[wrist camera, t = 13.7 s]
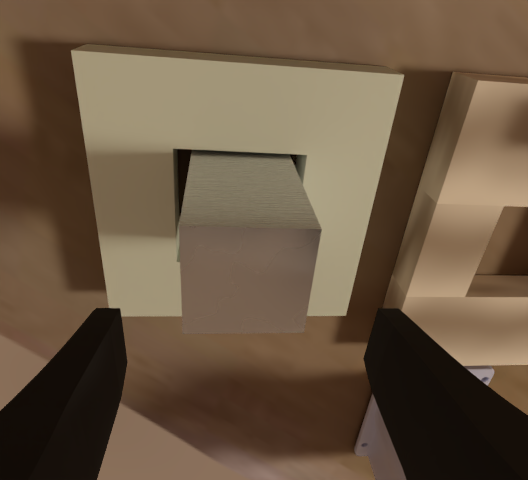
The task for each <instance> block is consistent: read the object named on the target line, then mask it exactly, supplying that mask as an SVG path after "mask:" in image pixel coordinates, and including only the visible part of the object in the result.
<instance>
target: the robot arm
mask: <svg viewBox="0 0 528 480" xmlns="http://www.w3.org/2000/svg"><path fill="white" fill-rule="evenodd" d="M364 362H365V367H366V371H367V375H368V379H369V382H370V386H371V390H372V396H371V399H370V402H369V405H368V408H367V411H366V414H365V417H364V420H363V424H362V427H361V430H360V433H359V436H358V439H357V442H356V445H355V448H354V451H355V454H356V455H357V456H368V457H369V461H370V464H371V467H372V470H373V473H374V476H375V479H376V480H528V415H526V414H525V413H523V412H522V411H521V410H519V409H518V408H516V407H515V406H514V405H512V404H511V403H509V402H508V401H507V400H505V399H504V398H503V397H501V396H500V395H499V394H497V393H496V392H495V391H493V390H492V389H491V388H490V387H488V384H489V382H490V380H491V378H492V376H493V375H494V370H493V368H492V367H491V366H489V365H480V366H463V365H461V364H460V363H459V362H458V361H457V360H456V359H454V358H453V357H452V356H451V355H450V354H449V353H448V352H447V351H445V350H444V349H443V348H442V347H441V346H440V345H439V344H438V343H436V342H435V341H434V340H433V339H432V338H431V337H430V336H429V335H428V334H427V333H425V332H424V331H423V330H422V329H421V328H420V327H419V326H418V325H417V324H416V323H415V322H413V321H412V320H411V319H410V318H409V317H408V316H407V315H406V314H404V313H403V312H402V311H401V310H400V309H399V308H378V311H377V314H376V318H375V321H374V325H373V328H372V332H371V335H370V338H369V342H368V345H367V349H366V352H365V355H364ZM126 367H127V356H126V348H125V341H124V333H123V325H122V318H121V310H120V308H96V309H95V310H94V311H93V312H92V313H91V314H90V315H89V317H88V318H87V319H86V320H85V321H84V323H83V324H82V325H81V326H80V327H79V329H78V330H77V331H76V332H75V333H74V335H73V336H72V337H71V338H70V339H69V340H68V342H67V343H66V344H65V345H64V346H63V347H62V348H61V349H60V351H59V352H58V353H57V354H56V355H55V356H54V357H53V358H52V359H51V360H50V362H49V363H48V364H47V365H46V366H45V367H44V368H43V369H42V370H41V371H40V372H39V373H38V375H37V376H35V377H34V378H33V379H32V380H31V381H30V382H29V383H28V384H27V385H26V386H25V387H24V389H22V390H21V391H20V392H19V393H18V394H17V395H16V396H15V397H14V398H13V399H12V400H11V401H10V402H9V403H8V404H7V405H6V406H5V407H4V408H3V409H2V410H1V411H0V480H97V478H98V474H99V471H100V467H101V464H102V461H103V457H104V454H105V451H106V448H107V444H108V440H109V437H110V434H111V431H112V427H113V424H114V421H115V417H116V414H117V410H118V407H119V403H120V400H121V396H122V390H123V385H124V379H125V373H126Z"/></svg>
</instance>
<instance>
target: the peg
mask: <svg viewBox="0 0 528 480" xmlns="http://www.w3.org/2000/svg"><path fill="white" fill-rule="evenodd" d="M321 231H322V228H321V226H320V224H319V222H318V219H317V217H316V215H315V212H314V210H313V208H312V205H311V203H310V201H309V198H308V196H307V194H306V191H305V189H304V187H303V184H302V182H301V180H300V177H299V175H298V173H297V170H296V168H295V166H294V163H293V161H292V159H291V156H290V154H277V153H256V152H235V151H214V150H193V149H192V153H191V158H190V164H189V170H188V176H187V182H186V187H185V193H184V199H183V205H182V211H181V216H180V222H179V245H180V274H181V303H182V332H183V334H218V333H304V329H305V323H306V317H307V312H308V306H309V300H310V294H311V288H312V283H313V277H314V271H315V265H316V259H317V254H318V248H319V242H320V236H321Z"/></svg>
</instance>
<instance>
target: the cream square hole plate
mask: <svg viewBox="0 0 528 480" xmlns="http://www.w3.org/2000/svg"><path fill="white" fill-rule="evenodd" d="M71 54H72V61H73V68H74V74H75V81H76V88H77V95H78V101H79V108H80V115H81V122H82V128H83V135H84V142H85V149H86V155H87V162H88V169H89V176H90V182H91V189H92V196H93V202H94V209H95V216H96V223H97V229H98V236H99V243H100V250H101V256H102V263H103V270H104V277H105V283H106V290H107V297H108V304H109V308H120V310H121V316H182V303H181V274H180V245H179V222H180V218H179V183H178V149H193V150H214V151H235V152H256V153H277V154H297V159H296V167H295V168H296V170H297V173H298V175H299V177H300V180H301V182H302V184H303V187H304V189H305V191H306V194H307V196H308V198H309V201H310V203H311V205H312V208H313V210H314V212H315V215H316V217H317V219H318V222H319V224H320V226H321V228H322V231H321V236H320V242H319V248H318V254H317V259H316V265H315V271H314V277H313V283H312V288H311V294H310V300H309V306H308V312H307V316H346V313H347V309H348V305H349V301H350V297H351V293H352V288H353V284H354V280H355V276H356V272H357V268H358V264H359V260H360V256H361V251H362V247H363V243H364V239H365V235H366V231H367V227H368V223H369V219H370V214H371V210H372V206H373V202H374V198H375V194H376V190H377V186H378V182H379V177H380V173H381V169H382V165H383V161H384V157H385V153H386V149H387V145H388V140H389V136H390V132H391V128H392V124H393V120H394V116H395V112H396V108H397V103H398V99H399V95H400V91H401V87H402V83H403V79H404V75H403V74H401V73H399V72H397V71H395V70H392V69H390V68H388V67H384V66H371V65H358V64H345V63H332V62H319V61H306V60H293V59H279V58H266V57H253V56H240V55H227V54H214V53H201V52H188V51H175V50H161V49H148V48H135V47H122V46H109V45H96V44H85V45H83V46H80V47H78V48H75V49H73V50H71Z"/></svg>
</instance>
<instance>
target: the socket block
mask: <svg viewBox="0 0 528 480" xmlns="http://www.w3.org/2000/svg"><path fill="white" fill-rule="evenodd" d="M504 206H520V207H528V77H515V76H502V75H489V74H476V73H463V72H453V73H452V76H451V80H450V83H449V86H448V90H447V93H446V96H445V100H444V103H443V106H442V110H441V113H440V116H439V120H438V123H437V126H436V130H435V133H434V136H433V140H432V143H431V146H430V150H429V153H428V156H427V160H426V163H425V166H424V170H423V173H422V176H421V180H420V183H419V186H418V190H417V193H416V196H415V200H414V203H413V206H412V210H411V213H410V217H409V220H408V223H407V227H406V230H405V233H404V237H403V240H402V243H401V247H400V250H399V253H398V257H397V260H396V263H395V267H394V270H393V273H392V277H391V280H390V283H389V287H388V290H387V293H386V297H385V300H384V303H383V307H382V308H399V309H400V310H401V311H402V312H403V313H404V314H406V315H407V316H408V317H409V318H410V319H411V320H412V321H413V322H415V323H416V324H417V325H418V326H419V327H420V328H421V329H422V330H423V331H424V332H425V333H427V334H428V335H429V336H430V337H431V338H432V339H433V340H434V341H435V342H436V343H438V344H439V345H440V346H441V347H442V348H443V349H444V350H445V351H447V352H448V353H449V354H450V355H451V356H452V357H453V358H454V359H456V360H457V361H458V362H459V363H460V364H461V365H463V366H480V365H528V276H512V275H475V272H476V270H477V268H478V265H479V263H480V261H481V258H482V256H483V254H484V251H485V249H486V247H487V244H488V242H489V240H490V237H491V235H492V233H493V230H494V228H495V226H496V223H497V221H498V219H499V216H500V214H501V212H502V209H503V207H504Z"/></svg>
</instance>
